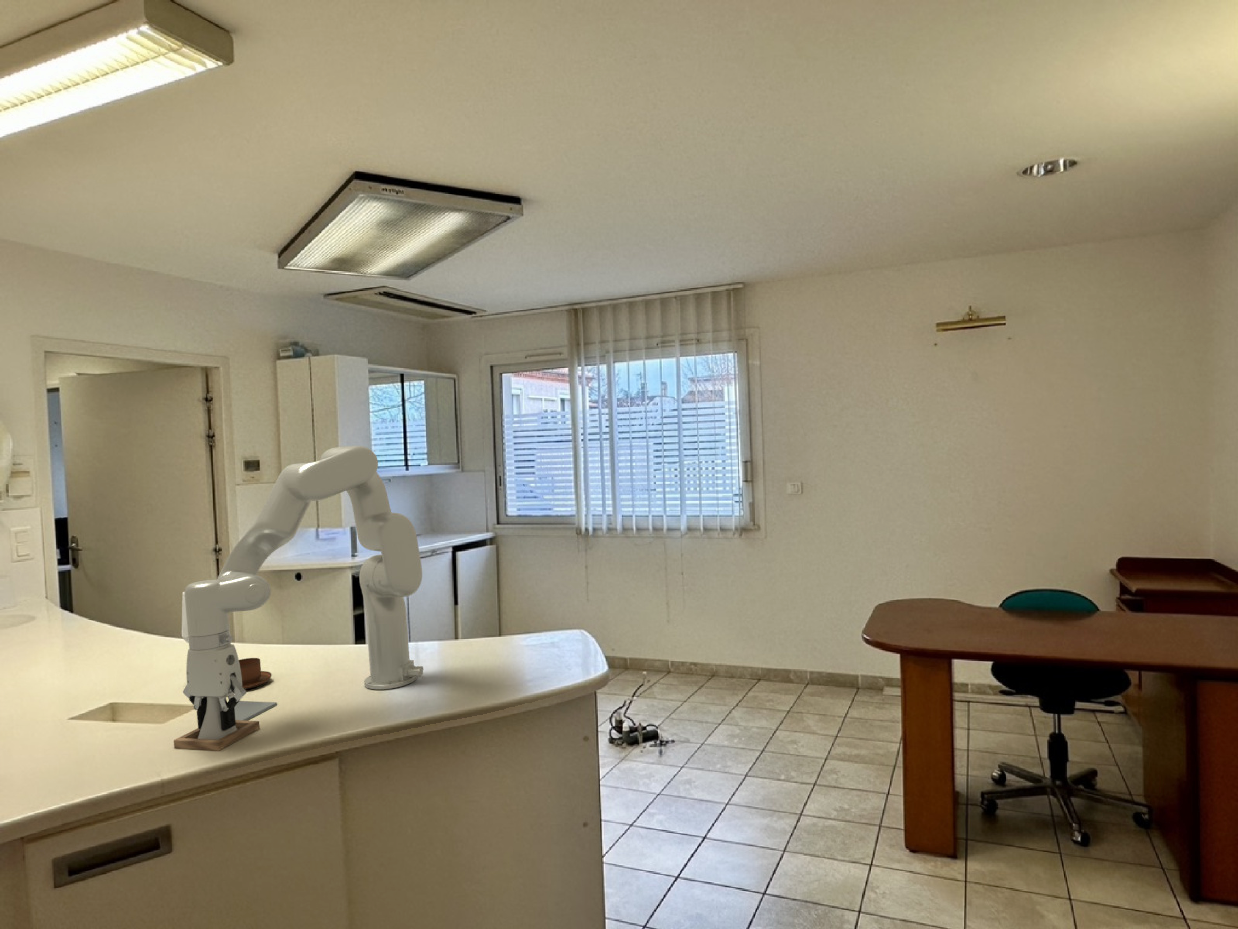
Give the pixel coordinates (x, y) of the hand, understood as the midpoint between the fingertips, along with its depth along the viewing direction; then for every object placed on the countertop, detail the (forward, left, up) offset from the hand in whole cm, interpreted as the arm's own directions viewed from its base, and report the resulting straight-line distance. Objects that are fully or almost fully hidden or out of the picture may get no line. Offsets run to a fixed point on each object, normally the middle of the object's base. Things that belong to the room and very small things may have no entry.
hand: (217, 726), depth 152 cm
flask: (0, 0, -3) cm, 3 cm away
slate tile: (+6, -13, -2) cm, 15 cm away
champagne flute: (+35, -31, -3) cm, 47 cm away
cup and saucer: (+20, -30, -3) cm, 36 cm away
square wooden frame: (0, 0, -2) cm, 2 cm away
